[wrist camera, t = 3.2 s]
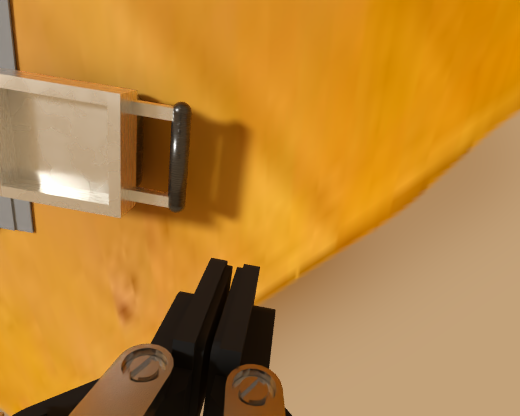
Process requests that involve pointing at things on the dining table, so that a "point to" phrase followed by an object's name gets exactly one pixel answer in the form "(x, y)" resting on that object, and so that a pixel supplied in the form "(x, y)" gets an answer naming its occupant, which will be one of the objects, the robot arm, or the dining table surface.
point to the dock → (3, 56)
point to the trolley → (84, 144)
